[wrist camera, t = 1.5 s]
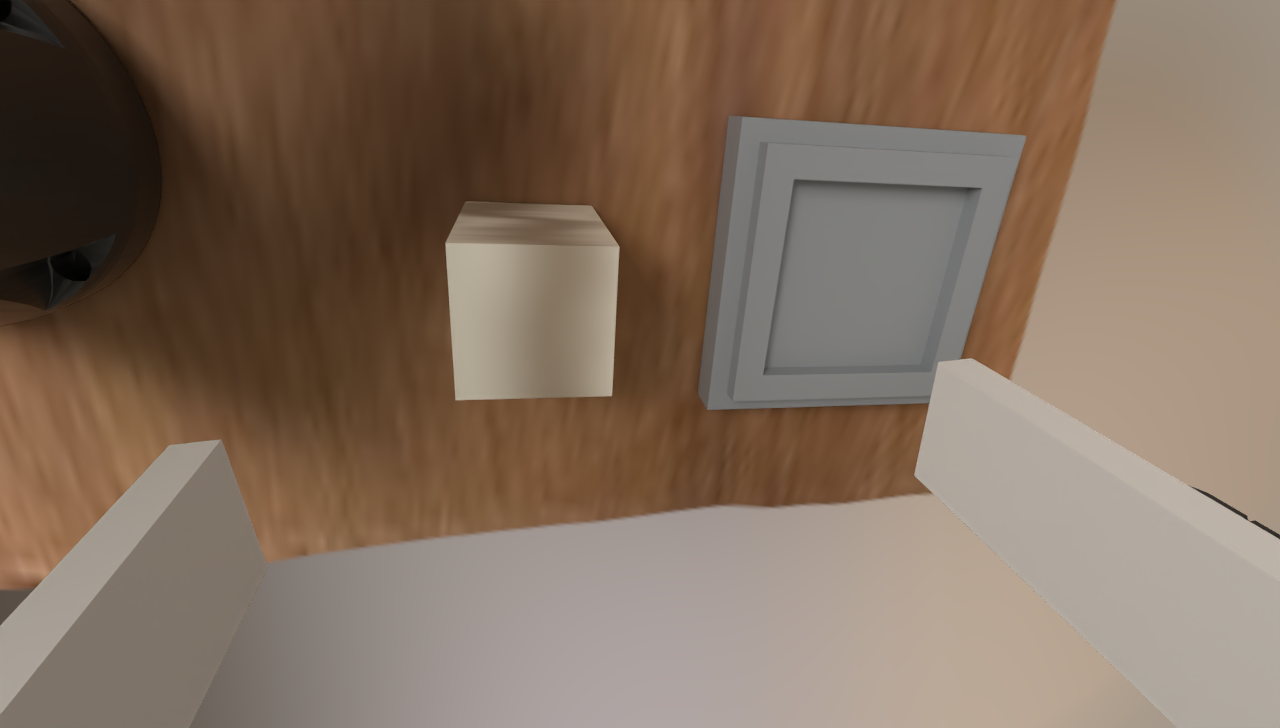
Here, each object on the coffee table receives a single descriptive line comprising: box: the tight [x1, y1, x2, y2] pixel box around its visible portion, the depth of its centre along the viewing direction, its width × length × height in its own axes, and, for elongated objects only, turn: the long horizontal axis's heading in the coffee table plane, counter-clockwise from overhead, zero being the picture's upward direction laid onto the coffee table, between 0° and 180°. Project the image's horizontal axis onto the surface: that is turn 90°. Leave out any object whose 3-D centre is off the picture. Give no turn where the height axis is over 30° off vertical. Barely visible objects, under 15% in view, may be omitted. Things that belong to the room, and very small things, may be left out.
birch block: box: [445, 201, 619, 400], centre depth 26 cm, size 6×6×9 cm
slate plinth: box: [698, 116, 1026, 410], centre depth 32 cm, size 15×15×3 cm
